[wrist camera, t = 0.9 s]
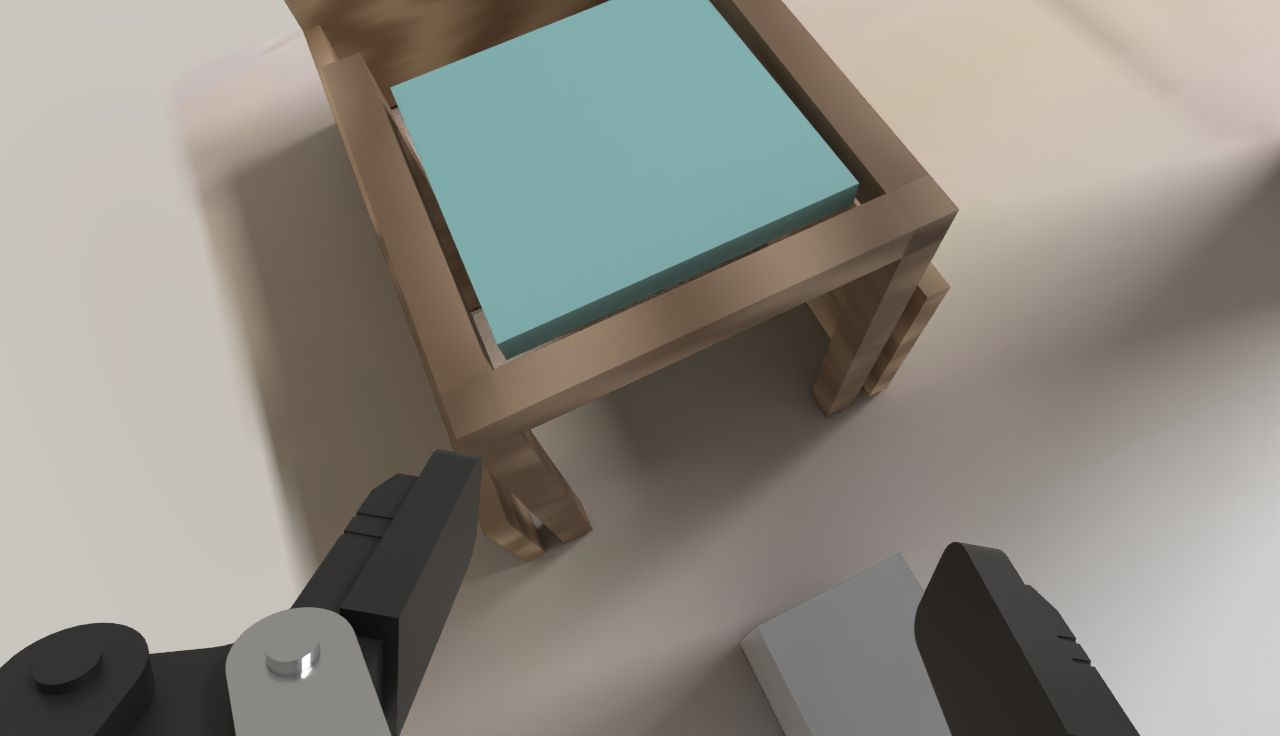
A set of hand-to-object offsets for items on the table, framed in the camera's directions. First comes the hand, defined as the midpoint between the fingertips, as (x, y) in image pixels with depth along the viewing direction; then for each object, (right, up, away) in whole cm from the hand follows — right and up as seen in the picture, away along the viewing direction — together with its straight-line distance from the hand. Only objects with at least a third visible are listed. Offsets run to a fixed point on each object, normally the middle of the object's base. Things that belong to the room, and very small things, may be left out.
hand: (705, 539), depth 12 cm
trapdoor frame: (-4, +11, +29) cm, 31 cm away
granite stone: (+7, -10, +18) cm, 22 cm away
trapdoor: (-2, +10, +12) cm, 16 cm away
